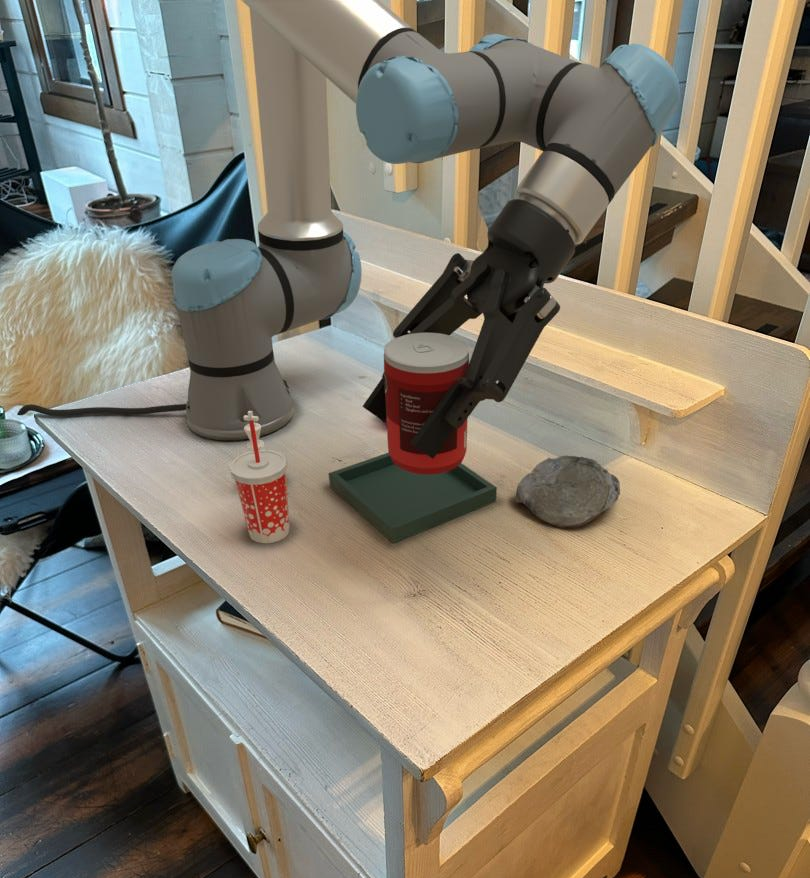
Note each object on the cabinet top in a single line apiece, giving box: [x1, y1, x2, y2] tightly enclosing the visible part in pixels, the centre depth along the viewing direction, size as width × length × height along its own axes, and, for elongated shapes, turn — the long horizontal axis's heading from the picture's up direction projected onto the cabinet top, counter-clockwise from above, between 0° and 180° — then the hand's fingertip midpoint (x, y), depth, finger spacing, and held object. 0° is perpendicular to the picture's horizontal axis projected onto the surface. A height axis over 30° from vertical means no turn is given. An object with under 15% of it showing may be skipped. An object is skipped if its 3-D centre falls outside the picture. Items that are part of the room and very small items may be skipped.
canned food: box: [383, 333, 470, 475], centre depth 71 cm, size 8×8×11 cm
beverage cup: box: [228, 420, 291, 544], centre depth 82 cm, size 6×6×14 cm
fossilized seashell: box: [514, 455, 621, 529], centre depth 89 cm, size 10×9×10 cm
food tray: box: [328, 451, 498, 544], centre depth 91 cm, size 15×15×2 cm
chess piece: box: [244, 411, 265, 451], centre depth 92 cm, size 5×5×10 cm
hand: (396, 431), depth 71 cm, fingers closed on canned food, 8 cm apart
